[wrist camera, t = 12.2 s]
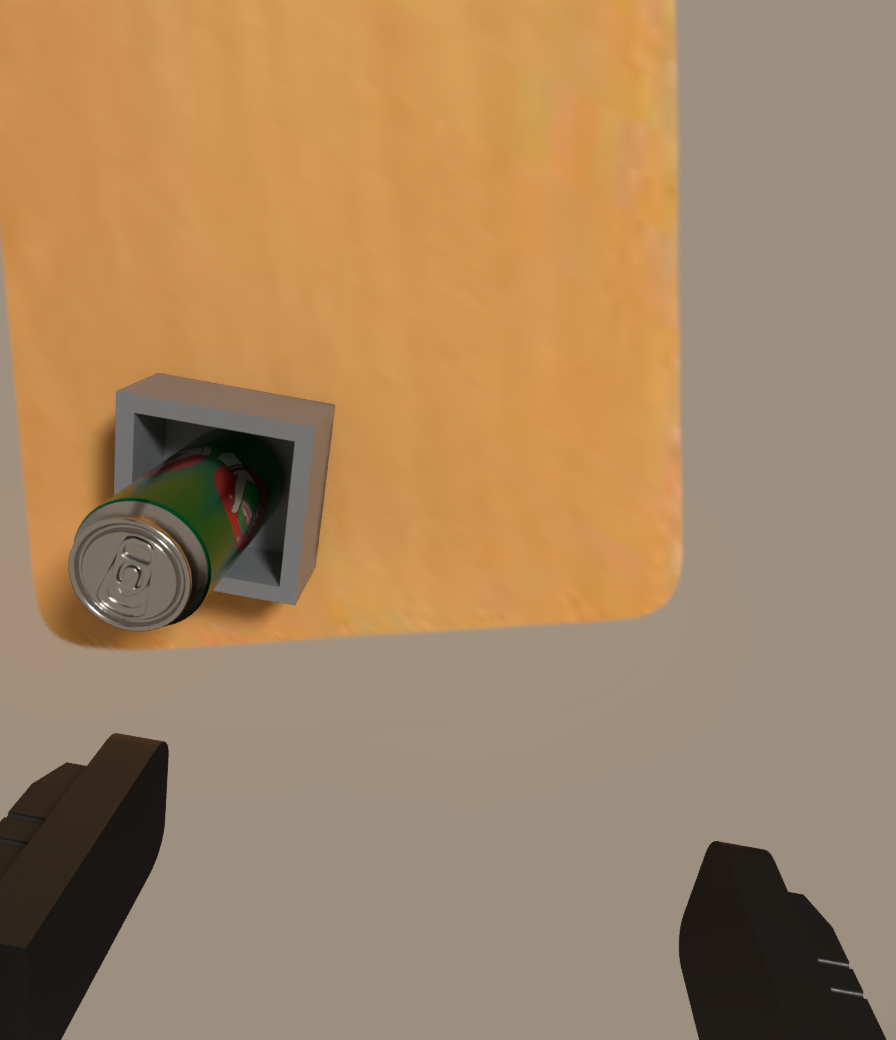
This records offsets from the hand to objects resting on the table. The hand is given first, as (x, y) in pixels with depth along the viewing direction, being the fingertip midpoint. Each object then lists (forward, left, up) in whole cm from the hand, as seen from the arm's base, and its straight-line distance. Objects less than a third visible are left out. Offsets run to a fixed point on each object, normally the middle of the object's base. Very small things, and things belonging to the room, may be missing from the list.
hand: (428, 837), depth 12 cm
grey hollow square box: (+5, -11, -28) cm, 31 cm away
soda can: (+5, -11, -28) cm, 30 cm away
